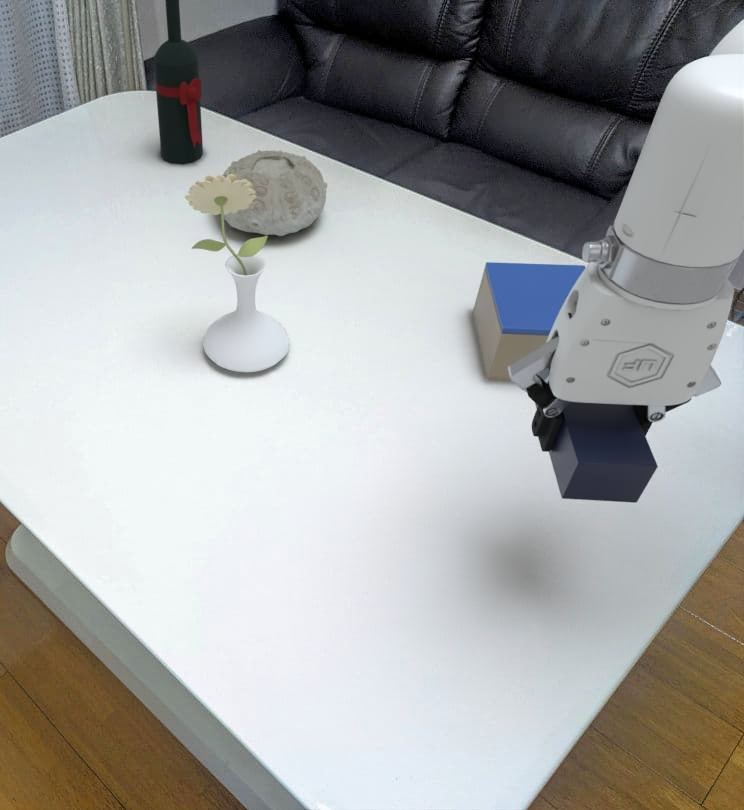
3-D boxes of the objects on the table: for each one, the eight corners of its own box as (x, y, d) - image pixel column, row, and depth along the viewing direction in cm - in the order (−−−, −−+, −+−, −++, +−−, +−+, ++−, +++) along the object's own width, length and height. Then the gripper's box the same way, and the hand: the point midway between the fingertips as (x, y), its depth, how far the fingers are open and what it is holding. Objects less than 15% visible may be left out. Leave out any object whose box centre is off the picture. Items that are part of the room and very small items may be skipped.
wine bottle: (180, 175, 133) (168, -8, 112) (153, 154, 139) (137, -23, 118) (217, 163, 136) (212, -18, 114) (189, 143, 142) (179, -32, 121)
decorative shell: (292, 262, 112) (295, 203, 105) (194, 232, 119) (191, 174, 112) (342, 209, 122) (348, 152, 115) (250, 184, 130) (250, 129, 123)
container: (559, 318, 100) (577, 270, 94) (583, 386, 90) (605, 338, 85) (471, 314, 101) (484, 267, 96) (486, 382, 92) (501, 333, 86)
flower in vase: (298, 333, 100) (309, 160, 82) (275, 388, 92) (282, 210, 75) (208, 316, 103) (200, 146, 86) (179, 367, 96) (164, 193, 78)
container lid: (582, 270, 94) (584, 265, 94) (611, 338, 85) (613, 332, 84) (484, 267, 96) (486, 261, 95) (501, 333, 86) (503, 327, 86)
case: (532, 393, 66) (545, 356, 63) (597, 395, 66) (613, 359, 63) (561, 498, 58) (578, 462, 55) (636, 502, 57) (658, 466, 54)
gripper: (541, 290, 47) (482, 470, 60) (833, 296, 45) (707, 481, 58) (520, 227, 53) (470, 405, 65) (781, 230, 50) (676, 413, 63)
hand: (582, 439), depth 62 cm, fingers closed on case, 5 cm apart
